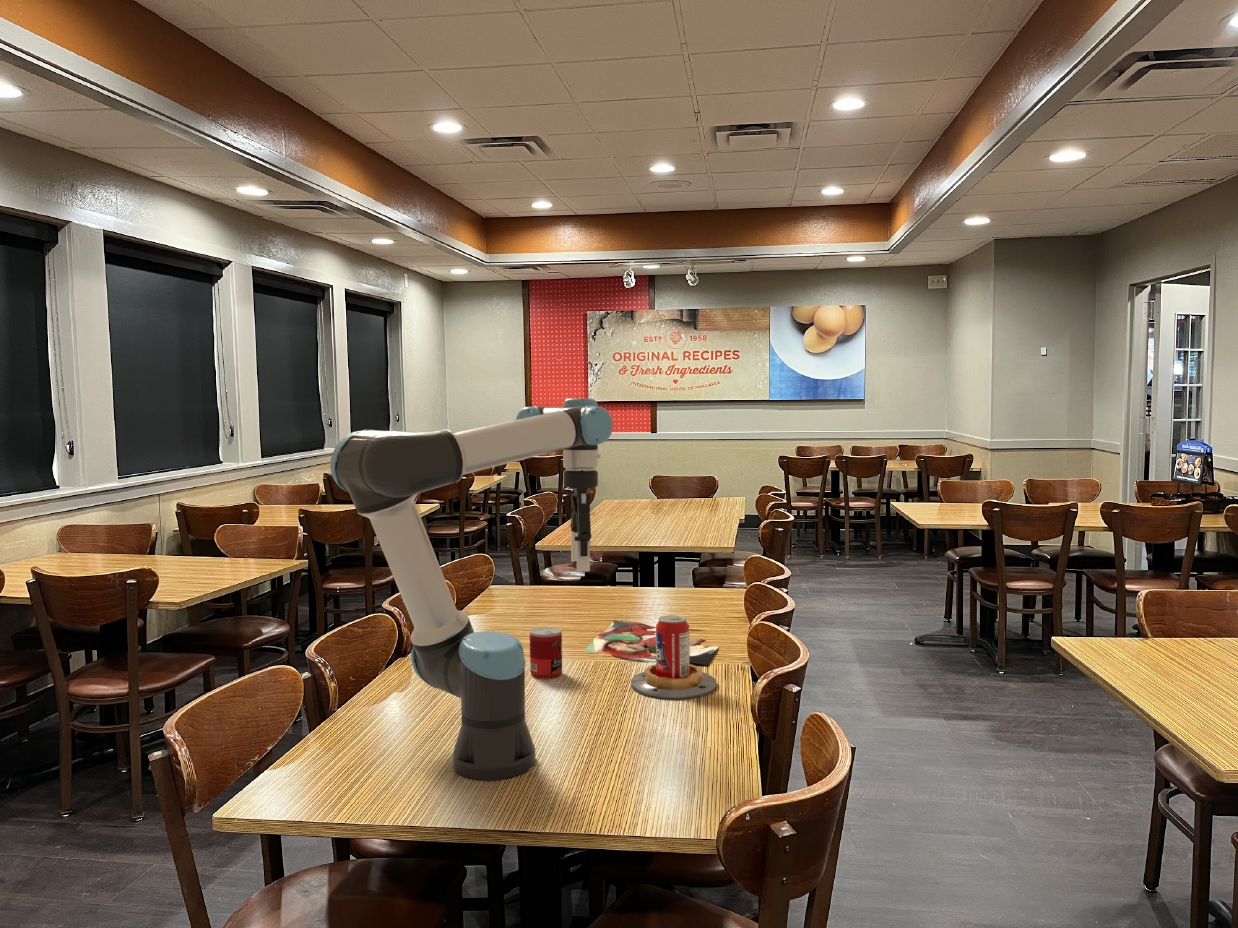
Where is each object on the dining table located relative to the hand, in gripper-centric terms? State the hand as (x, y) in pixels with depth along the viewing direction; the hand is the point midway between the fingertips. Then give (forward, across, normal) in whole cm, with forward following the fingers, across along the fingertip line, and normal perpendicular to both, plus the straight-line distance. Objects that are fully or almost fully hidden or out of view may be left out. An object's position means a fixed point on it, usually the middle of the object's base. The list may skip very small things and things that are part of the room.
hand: (580, 566), depth 189 cm
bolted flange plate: (+30, +10, -23) cm, 39 cm away
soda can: (+29, +9, -23) cm, 38 cm away
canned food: (+31, +23, +6) cm, 39 cm away
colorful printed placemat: (+30, +45, -26) cm, 60 cm away
